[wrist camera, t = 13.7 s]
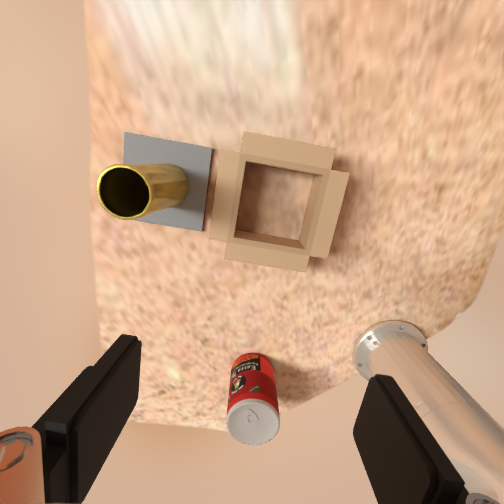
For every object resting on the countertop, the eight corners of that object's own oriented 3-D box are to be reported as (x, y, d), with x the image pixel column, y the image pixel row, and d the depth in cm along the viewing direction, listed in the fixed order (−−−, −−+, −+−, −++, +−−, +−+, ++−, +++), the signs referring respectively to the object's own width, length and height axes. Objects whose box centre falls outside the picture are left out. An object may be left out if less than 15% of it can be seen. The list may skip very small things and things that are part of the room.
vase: (196, 196, 39) (168, 209, 26) (160, 213, 40) (113, 235, 26) (176, 155, 38) (135, 146, 24) (138, 174, 38) (77, 176, 25)
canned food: (256, 343, 47) (258, 393, 36) (282, 374, 49) (291, 429, 38) (222, 366, 48) (214, 420, 38) (248, 394, 50) (248, 453, 40)
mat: (202, 230, 41) (201, 231, 41) (122, 217, 41) (121, 218, 40) (212, 148, 38) (211, 148, 37) (126, 132, 37) (124, 131, 37)
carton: (314, 263, 43) (322, 275, 38) (211, 246, 42) (206, 256, 37) (342, 154, 38) (355, 152, 33) (226, 133, 37) (223, 127, 33)
